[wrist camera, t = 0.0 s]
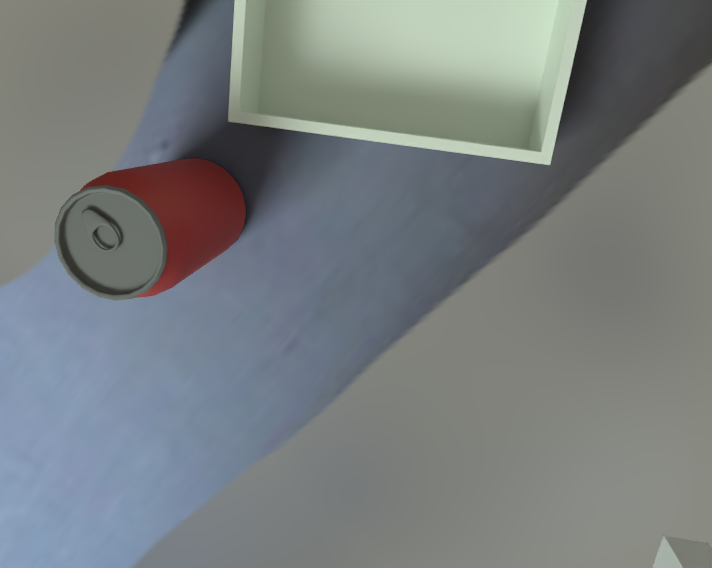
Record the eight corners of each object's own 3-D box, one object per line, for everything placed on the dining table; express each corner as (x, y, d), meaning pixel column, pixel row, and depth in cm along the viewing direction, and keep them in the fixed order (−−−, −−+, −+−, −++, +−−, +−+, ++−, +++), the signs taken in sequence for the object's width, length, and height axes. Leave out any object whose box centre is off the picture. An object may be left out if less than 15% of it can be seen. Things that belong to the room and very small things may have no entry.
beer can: (209, 137, 37) (115, 145, 25) (268, 221, 38) (203, 265, 26) (135, 192, 38) (15, 224, 27) (194, 271, 39) (103, 334, 28)
